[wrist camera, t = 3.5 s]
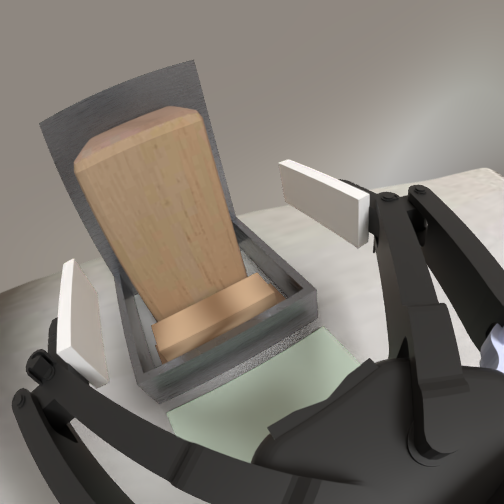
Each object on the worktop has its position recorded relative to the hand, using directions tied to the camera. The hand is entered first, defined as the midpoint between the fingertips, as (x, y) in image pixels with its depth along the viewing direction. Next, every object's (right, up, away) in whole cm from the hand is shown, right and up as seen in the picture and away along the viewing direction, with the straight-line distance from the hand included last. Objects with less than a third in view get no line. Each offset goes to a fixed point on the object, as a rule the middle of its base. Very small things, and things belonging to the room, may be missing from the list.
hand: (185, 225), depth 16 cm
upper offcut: (+1, -8, +10) cm, 13 cm away
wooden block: (-2, -7, +17) cm, 18 cm away
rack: (-1, -7, +15) cm, 17 cm away
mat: (+6, -15, +4) cm, 16 cm away
